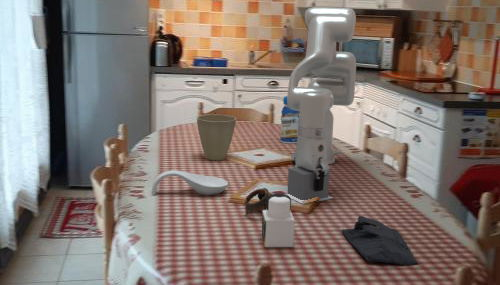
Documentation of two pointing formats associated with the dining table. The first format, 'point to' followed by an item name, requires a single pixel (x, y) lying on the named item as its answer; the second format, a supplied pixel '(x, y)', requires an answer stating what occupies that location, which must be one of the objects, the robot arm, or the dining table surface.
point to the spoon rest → (195, 182)
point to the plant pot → (216, 135)
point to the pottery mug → (260, 204)
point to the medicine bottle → (278, 222)
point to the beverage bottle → (289, 124)
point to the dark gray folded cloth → (379, 242)
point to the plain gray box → (305, 184)
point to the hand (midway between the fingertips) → (308, 186)
